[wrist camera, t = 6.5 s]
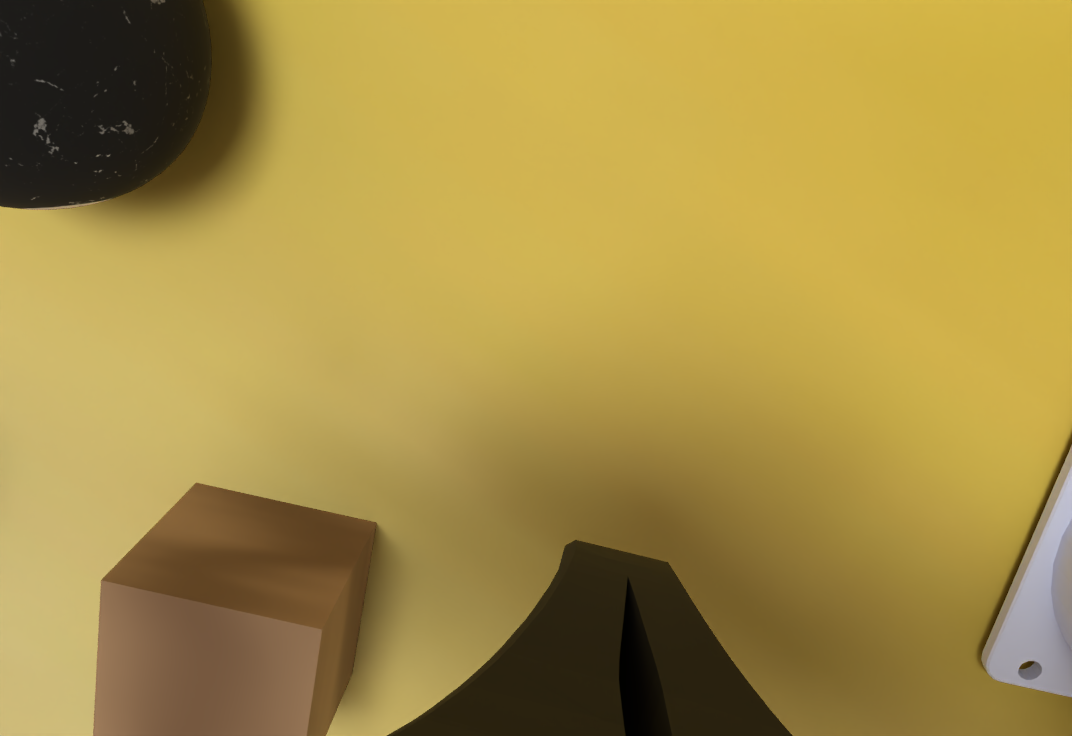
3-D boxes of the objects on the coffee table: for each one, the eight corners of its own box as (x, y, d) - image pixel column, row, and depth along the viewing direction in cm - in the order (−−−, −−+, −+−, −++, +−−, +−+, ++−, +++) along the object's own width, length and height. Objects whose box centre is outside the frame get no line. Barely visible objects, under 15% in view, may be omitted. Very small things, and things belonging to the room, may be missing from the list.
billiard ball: (12, 190, 21) (-216, 243, 15) (-55, -112, 19) (-347, -181, 13) (275, 180, 20) (141, 231, 14) (233, -131, 18) (59, -213, 12)
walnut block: (377, 520, 23) (322, 629, 18) (352, 671, 24) (296, 804, 20) (197, 481, 23) (101, 580, 18) (184, 634, 24) (92, 758, 20)
